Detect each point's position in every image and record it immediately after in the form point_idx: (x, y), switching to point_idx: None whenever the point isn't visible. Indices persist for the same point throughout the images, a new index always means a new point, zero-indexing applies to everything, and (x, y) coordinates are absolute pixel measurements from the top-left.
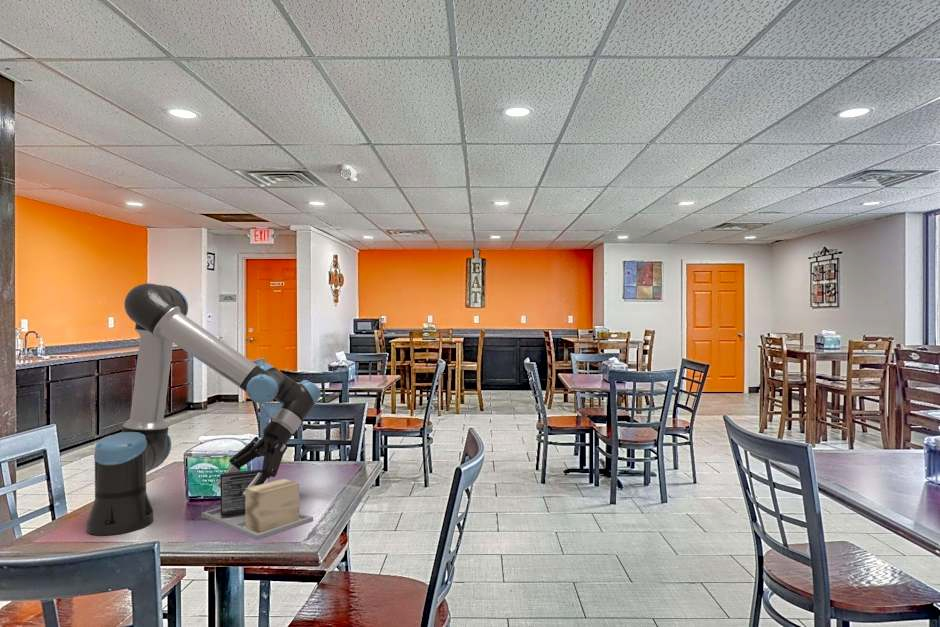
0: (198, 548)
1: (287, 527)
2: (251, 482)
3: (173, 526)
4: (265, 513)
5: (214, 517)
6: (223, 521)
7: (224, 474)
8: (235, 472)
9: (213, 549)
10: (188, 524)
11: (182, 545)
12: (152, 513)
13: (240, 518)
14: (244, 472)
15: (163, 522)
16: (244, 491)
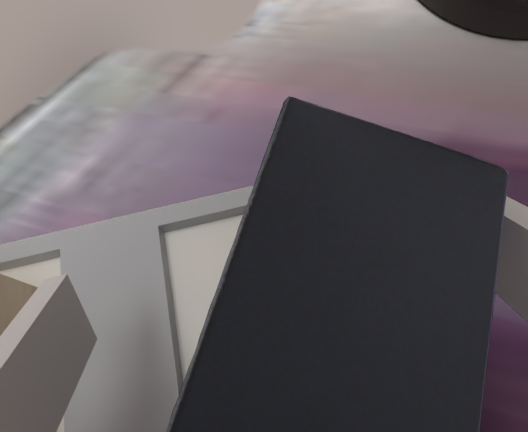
0: (63, 118)
1: None
2: (16, 343)
3: (375, 87)
4: None
5: (244, 192)
6: (151, 211)
7: (275, 127)
8: (290, 241)
9: (10, 154)
10: None
11: (134, 84)
12: (498, 3)
13: (129, 290)
14: (205, 327)
15: (456, 65)
16: (60, 284)
